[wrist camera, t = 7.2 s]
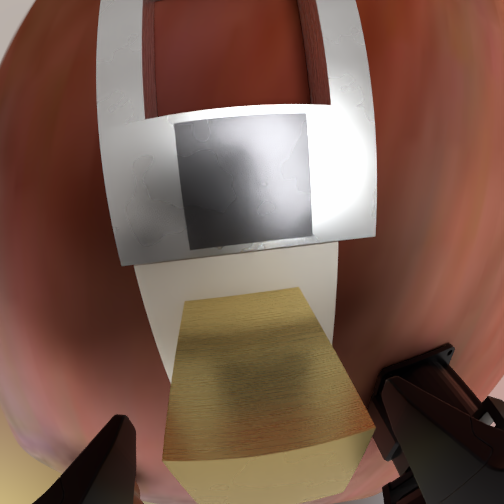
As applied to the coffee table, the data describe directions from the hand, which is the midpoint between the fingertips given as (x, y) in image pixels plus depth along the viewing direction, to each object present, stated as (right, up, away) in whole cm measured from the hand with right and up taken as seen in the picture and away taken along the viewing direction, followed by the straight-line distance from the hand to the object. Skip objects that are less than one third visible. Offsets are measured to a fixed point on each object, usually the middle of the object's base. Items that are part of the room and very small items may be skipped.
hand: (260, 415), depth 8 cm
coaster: (-1, +2, +5) cm, 5 cm away
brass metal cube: (0, +1, +4) cm, 4 cm away
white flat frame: (-1, +12, +1) cm, 12 cm away
